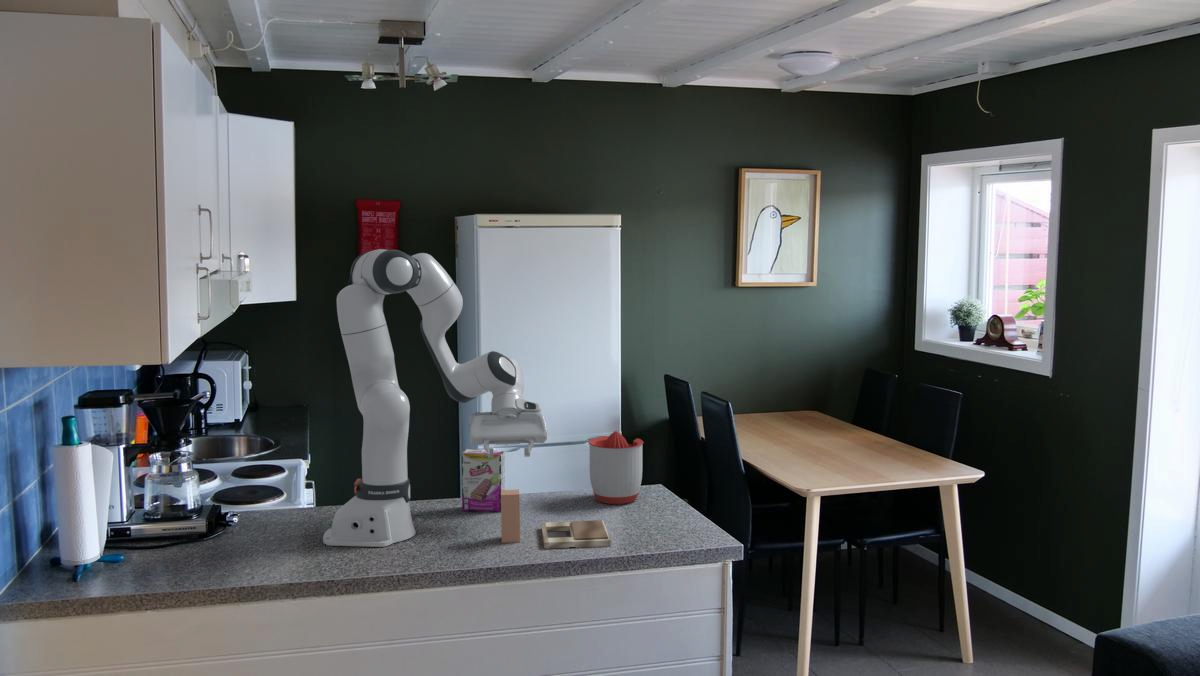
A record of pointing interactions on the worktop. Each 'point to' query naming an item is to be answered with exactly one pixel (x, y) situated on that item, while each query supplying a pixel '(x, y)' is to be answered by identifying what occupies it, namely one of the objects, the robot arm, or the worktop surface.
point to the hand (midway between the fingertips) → (509, 456)
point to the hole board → (575, 534)
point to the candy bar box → (482, 480)
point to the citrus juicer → (615, 468)
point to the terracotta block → (510, 516)
